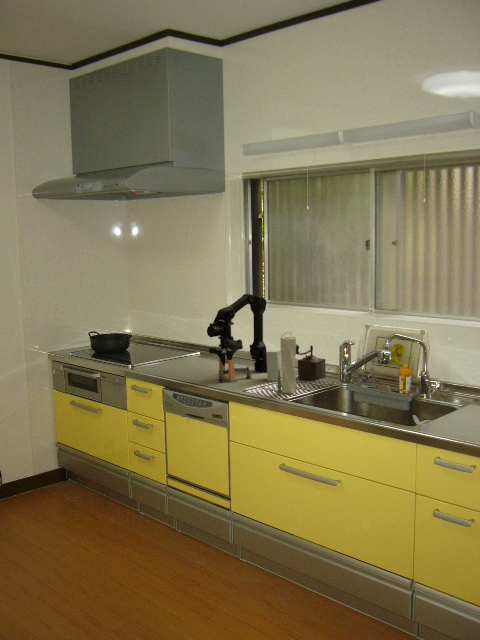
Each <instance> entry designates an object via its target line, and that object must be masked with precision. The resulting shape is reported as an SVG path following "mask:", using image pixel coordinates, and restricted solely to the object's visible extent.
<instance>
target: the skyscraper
mask: <svg viewBox="0 0 480 640" xmlns="http://www.w3.org/2000/svg"><path fill="white" fill-rule="evenodd" d="M286 334H290V335H286ZM284 335H285V336H284ZM283 336H284V337H283ZM296 340H297V339H296V336H292V331H287V332H284V333H283V334H281V335H280V350H281V361H282V378H281V376H280V370H278V381H277V394H281V395H293V394H294V393H295V392H296V391H297V381H296V371H295V362H296V356H297V354H296V344H297V341H296Z"/></svg>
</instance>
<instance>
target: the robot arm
mask: <svg viewBox="0 0 480 640" xmlns="http://www.w3.org/2000/svg"><path fill="white" fill-rule="evenodd" d="M247 305H249V307H250V310H251V312H252V315H253V342H252V343H251V344H249V353H250V356H251V359H252V360H253V361H254V363H253V364H254V366H253V368H254V370H253V371H255V373H267V356H266V352H268V351H267V346H266V344H265V342H264V313H265V311H266V309H267V300H266V299H265V297H260V296H256V295H253V294H251V293H250V294H249V293H244V294H243V295H241V297H239V298H238V299H236V301H234V302H233V303H231V304H230V305H229V306H224V307H223V308H221V309H218V311H217V314H216V315H215V318H214V319H213V323H212V322H210V323H209V325H208V327H207V329H206V333H207V336H208V337H209V338H216V337H218V340H219V344H218V346H211V347H209V349H208V353H209V354H213V355H216V356H218V357H217V358H219V360H221V362H222V364H223V366H225V367H226V363H225V359H227V360H232V359H233V357H234V355H235V353H236V352H238V351H239V350H243V349H244V347H243V346H244V345H243V340H242V339H237V340H236V339H234V338H235V337H234V336H233V335H232V326H234V325H235V322H233V321H232V320H233V319H234V318H235V316H236V313H238V312H239V311H240V310H242V309H244V308H245V306H247Z"/></svg>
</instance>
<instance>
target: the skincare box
mask: <svg viewBox="0 0 480 640" xmlns="http://www.w3.org/2000/svg"><path fill="white" fill-rule="evenodd" d="M266 356H267V372H266V373H267V376H266V377H267V381H268V382H269V381H270V382H278V370H280V376H281V379H282V374H283V364H282V359H281V349H270V350H268V351H267V352H266Z"/></svg>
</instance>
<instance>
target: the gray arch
mask: <svg viewBox="0 0 480 640" xmlns="http://www.w3.org/2000/svg"><path fill="white" fill-rule="evenodd" d="M234 369H235V373H244V372H245V373H246V377H245V379H246V380H251V379H252V375H251V374H252V373H251V366H246V367H234ZM224 374H225V375H227V374H228V375H229V369H225V370H218V379H219V380H217V383H224V382H225V381H224V380H223V375H224Z"/></svg>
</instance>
